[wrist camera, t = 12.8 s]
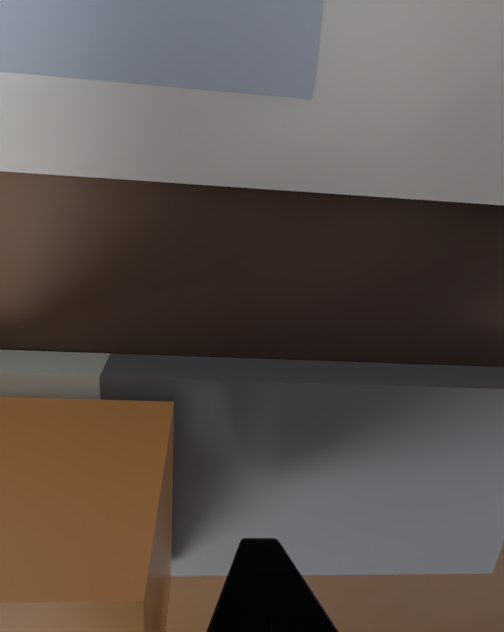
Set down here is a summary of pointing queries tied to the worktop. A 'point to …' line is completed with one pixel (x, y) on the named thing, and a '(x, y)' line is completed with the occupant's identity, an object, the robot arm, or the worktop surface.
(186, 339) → the worktop surface
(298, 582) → the robot arm
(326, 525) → the switch base
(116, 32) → the sheet
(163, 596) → the orange cube
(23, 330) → the worktop surface
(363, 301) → the worktop surface
